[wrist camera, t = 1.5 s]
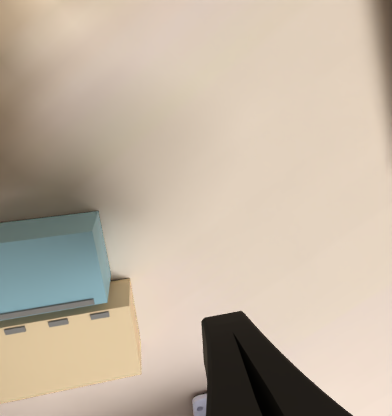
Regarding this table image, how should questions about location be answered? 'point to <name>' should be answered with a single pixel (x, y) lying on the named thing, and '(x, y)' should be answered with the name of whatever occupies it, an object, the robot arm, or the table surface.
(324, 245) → the table surface
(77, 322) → the cream usb hub
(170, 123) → the table surface
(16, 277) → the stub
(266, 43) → the table surface
